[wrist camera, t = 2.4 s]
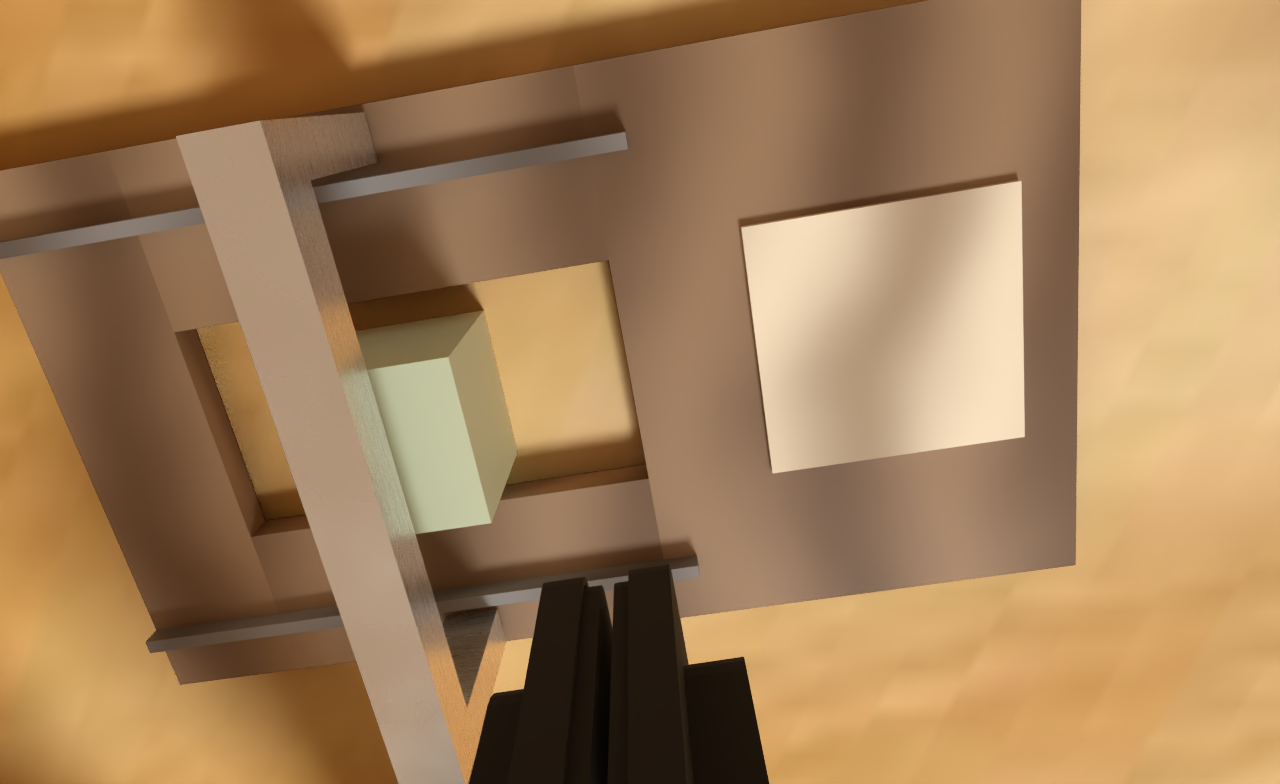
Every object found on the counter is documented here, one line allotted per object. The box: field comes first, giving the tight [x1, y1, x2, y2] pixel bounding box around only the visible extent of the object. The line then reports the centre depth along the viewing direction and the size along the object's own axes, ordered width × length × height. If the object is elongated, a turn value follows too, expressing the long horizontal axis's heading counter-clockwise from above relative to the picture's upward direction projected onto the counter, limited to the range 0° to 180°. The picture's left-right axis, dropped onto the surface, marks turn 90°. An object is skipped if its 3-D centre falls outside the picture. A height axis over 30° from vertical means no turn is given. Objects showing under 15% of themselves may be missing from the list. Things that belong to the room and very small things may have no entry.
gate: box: [176, 112, 506, 784], centre depth 20 cm, size 2×16×6 cm, turn 9°
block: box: [355, 310, 518, 534], centre depth 22 cm, size 4×4×4 cm
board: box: [0, 0, 1081, 685], centre depth 23 cm, size 28×16×2 cm, turn 100°
